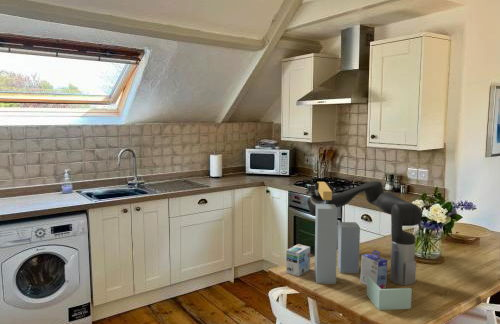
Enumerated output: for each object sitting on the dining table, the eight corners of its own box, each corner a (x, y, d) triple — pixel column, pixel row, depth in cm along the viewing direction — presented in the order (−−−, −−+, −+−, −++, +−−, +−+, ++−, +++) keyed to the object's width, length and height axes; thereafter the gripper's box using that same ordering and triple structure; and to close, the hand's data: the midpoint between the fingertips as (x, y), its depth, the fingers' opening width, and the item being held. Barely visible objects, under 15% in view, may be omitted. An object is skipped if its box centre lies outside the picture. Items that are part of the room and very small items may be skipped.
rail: (317, 189, 184) (317, 181, 184) (324, 189, 184) (324, 181, 183) (323, 199, 162) (323, 191, 162) (331, 199, 162) (331, 191, 162)
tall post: (314, 275, 175) (315, 204, 171) (332, 275, 174) (334, 204, 170) (316, 283, 167) (317, 208, 163) (335, 283, 166) (337, 208, 162)
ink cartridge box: (387, 288, 161) (388, 254, 160) (377, 291, 159) (378, 256, 157) (369, 279, 170) (370, 247, 168) (359, 282, 168) (360, 249, 166)
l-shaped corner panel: (410, 308, 145) (411, 289, 144) (378, 310, 144) (379, 290, 143) (396, 293, 157) (397, 275, 156) (366, 294, 156) (367, 276, 155)
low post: (337, 265, 185) (338, 222, 183) (354, 266, 185) (356, 222, 182) (340, 272, 178) (341, 227, 175) (358, 273, 177) (360, 227, 174)
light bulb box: (298, 276, 174) (298, 253, 172) (285, 273, 178) (285, 249, 176) (310, 269, 182) (310, 246, 181) (297, 265, 186) (298, 243, 185)
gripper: (303, 189, 195) (306, 176, 179) (332, 189, 195) (338, 176, 179) (304, 203, 192) (307, 192, 177) (333, 203, 192) (339, 192, 176)
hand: (322, 184), depth 178 cm, fingers closed on rail, 3 cm apart
